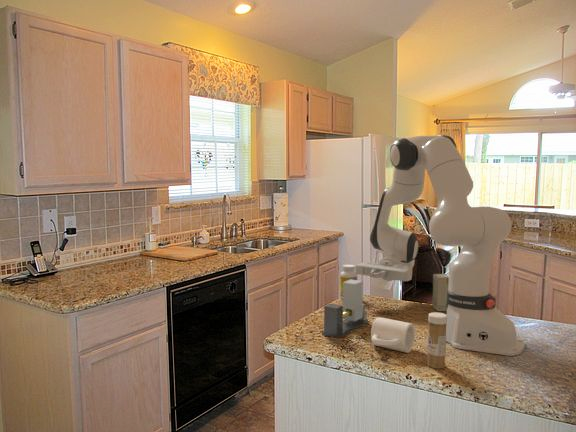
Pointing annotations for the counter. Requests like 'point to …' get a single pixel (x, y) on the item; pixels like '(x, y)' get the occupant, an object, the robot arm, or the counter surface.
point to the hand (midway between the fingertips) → (373, 275)
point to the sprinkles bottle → (437, 340)
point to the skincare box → (440, 291)
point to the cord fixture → (340, 321)
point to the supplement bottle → (347, 276)
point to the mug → (393, 334)
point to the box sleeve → (353, 299)
